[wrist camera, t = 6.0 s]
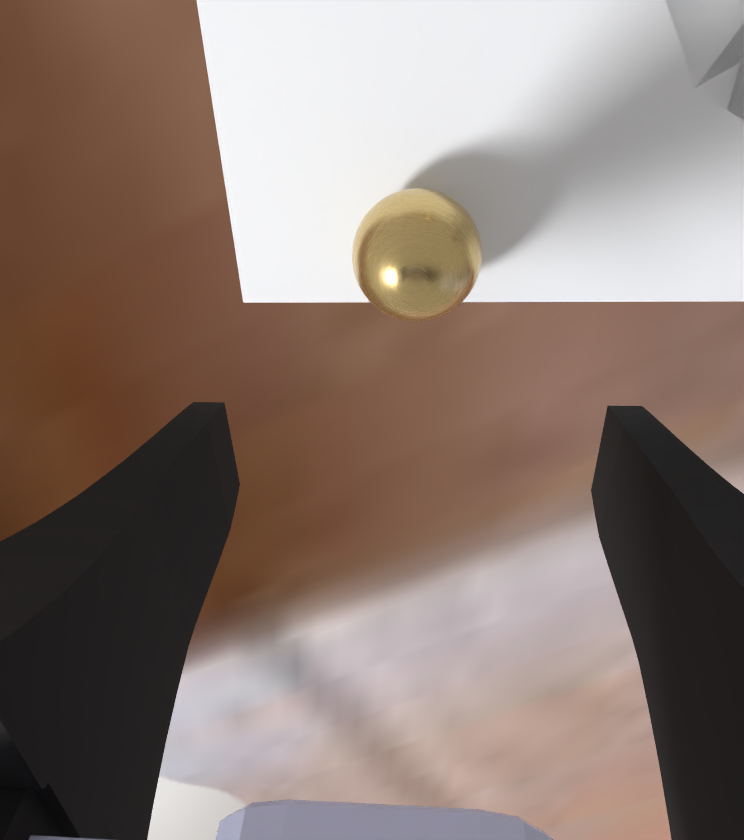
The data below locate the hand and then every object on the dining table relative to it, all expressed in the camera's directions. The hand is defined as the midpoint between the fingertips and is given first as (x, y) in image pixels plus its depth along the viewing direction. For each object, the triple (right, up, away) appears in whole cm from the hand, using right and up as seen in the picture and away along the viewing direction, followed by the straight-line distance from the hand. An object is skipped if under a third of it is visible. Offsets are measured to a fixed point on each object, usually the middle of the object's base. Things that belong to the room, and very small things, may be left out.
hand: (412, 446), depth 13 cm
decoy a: (0, +5, +4) cm, 6 cm away
